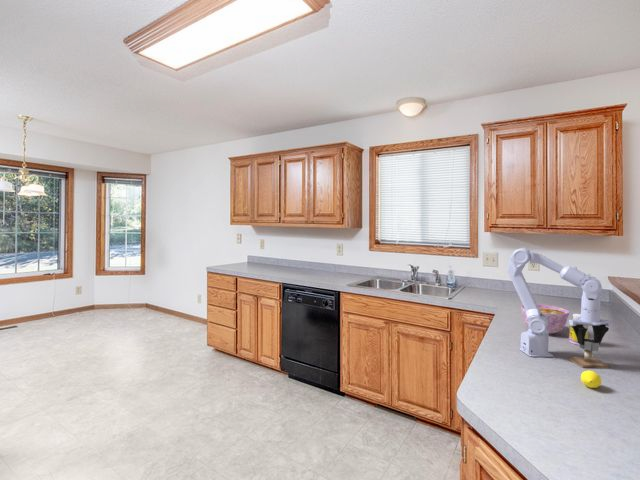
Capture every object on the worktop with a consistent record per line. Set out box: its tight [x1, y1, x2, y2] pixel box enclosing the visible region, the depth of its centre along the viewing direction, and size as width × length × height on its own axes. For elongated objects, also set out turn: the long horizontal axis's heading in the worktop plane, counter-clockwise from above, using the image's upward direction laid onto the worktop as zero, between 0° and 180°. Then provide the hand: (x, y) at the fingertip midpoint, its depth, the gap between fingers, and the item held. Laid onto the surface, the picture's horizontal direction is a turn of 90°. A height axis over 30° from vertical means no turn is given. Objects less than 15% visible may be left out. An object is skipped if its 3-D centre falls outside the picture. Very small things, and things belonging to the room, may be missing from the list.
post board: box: [566, 349, 611, 369], centre depth 130 cm, size 10×8×5 cm
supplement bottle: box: [568, 313, 589, 346], centre depth 152 cm, size 7×7×13 cm
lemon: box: [580, 369, 602, 389], centre depth 112 cm, size 7×5×5 cm
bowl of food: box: [520, 303, 570, 335], centre depth 168 cm, size 20×20×12 cm
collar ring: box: [578, 337, 600, 352], centre depth 130 cm, size 6×6×3 cm
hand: (588, 344), depth 130 cm, fingers closed on collar ring, 6 cm apart
